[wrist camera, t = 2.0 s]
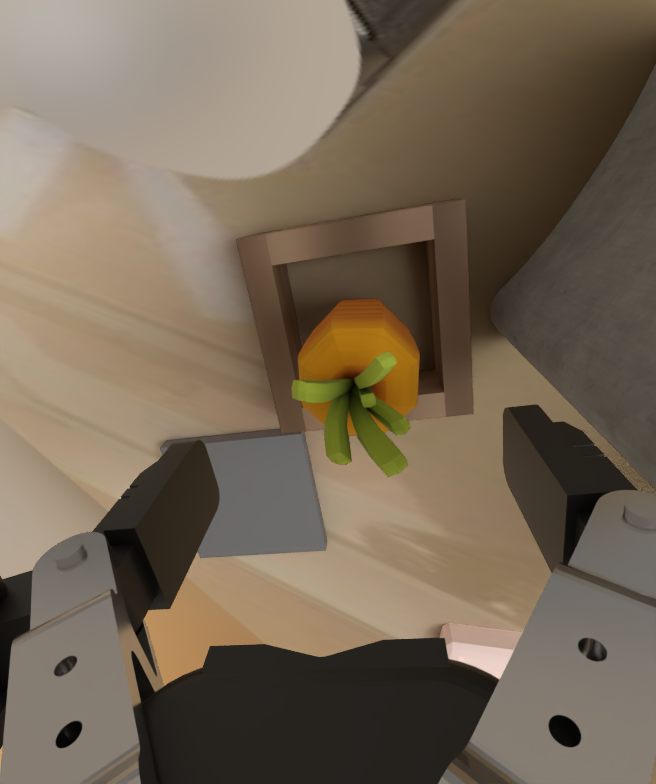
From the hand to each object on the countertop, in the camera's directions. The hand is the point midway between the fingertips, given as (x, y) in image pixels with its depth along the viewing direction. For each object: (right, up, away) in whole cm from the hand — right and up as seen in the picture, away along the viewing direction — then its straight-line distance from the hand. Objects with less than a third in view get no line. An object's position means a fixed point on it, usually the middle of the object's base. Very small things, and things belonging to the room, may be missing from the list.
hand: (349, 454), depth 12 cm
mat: (-6, -6, +20) cm, 22 cm away
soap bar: (+13, -20, +25) cm, 35 cm away
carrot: (+2, +6, +14) cm, 16 cm away
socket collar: (+1, +6, +14) cm, 16 cm away
